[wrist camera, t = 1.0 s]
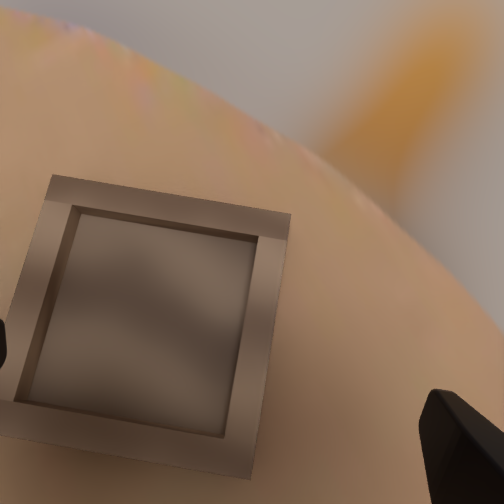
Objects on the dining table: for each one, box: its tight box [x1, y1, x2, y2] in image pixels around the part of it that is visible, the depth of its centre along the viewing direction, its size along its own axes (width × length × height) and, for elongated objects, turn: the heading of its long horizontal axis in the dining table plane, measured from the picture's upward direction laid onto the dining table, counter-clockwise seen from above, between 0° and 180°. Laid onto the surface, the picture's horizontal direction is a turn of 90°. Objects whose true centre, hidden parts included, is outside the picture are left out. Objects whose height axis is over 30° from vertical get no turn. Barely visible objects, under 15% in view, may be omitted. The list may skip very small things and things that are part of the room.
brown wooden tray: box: [0, 174, 291, 480], centre depth 23 cm, size 13×13×2 cm
